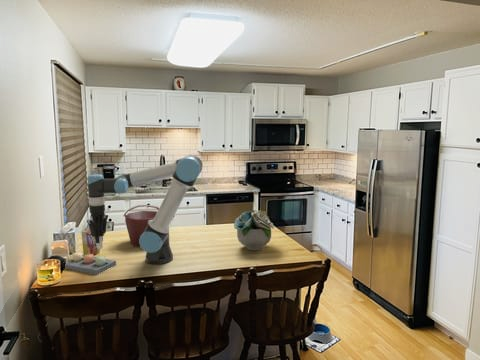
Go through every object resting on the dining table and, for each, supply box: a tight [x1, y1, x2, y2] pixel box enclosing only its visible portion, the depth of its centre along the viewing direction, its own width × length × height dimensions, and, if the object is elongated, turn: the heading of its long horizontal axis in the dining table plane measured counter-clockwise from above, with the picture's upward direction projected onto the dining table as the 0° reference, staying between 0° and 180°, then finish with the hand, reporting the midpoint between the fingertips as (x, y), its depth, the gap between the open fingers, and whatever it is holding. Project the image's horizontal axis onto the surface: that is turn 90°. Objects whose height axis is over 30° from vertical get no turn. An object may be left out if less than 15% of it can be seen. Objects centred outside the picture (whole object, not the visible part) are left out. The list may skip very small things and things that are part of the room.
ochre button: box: [71, 251, 83, 263], centre depth 193 cm, size 5×5×4 cm
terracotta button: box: [84, 254, 95, 265], centre depth 190 cm, size 5×5×4 cm
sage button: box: [95, 255, 106, 267], centre depth 187 cm, size 5×5×4 cm
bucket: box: [123, 204, 160, 248], centre depth 226 cm, size 24×22×25 cm
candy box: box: [81, 228, 101, 256], centre depth 206 cm, size 9×4×15 cm, turn 156°
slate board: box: [65, 254, 117, 276], centre depth 190 cm, size 24×14×2 cm, turn 68°
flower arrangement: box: [233, 209, 275, 252], centre depth 217 cm, size 25×25×24 cm
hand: (99, 248), depth 186 cm, fingers closed
